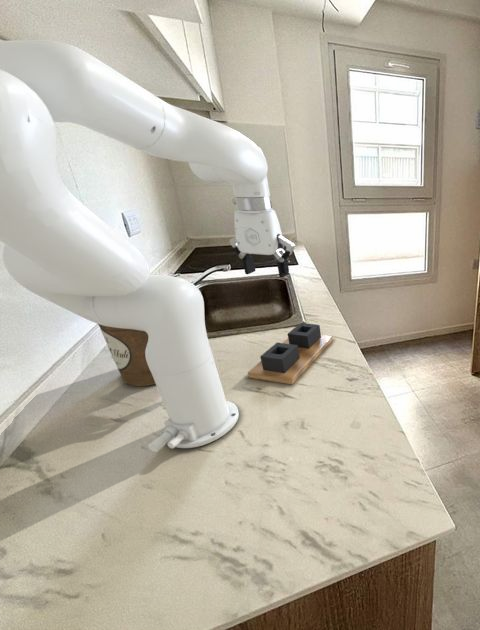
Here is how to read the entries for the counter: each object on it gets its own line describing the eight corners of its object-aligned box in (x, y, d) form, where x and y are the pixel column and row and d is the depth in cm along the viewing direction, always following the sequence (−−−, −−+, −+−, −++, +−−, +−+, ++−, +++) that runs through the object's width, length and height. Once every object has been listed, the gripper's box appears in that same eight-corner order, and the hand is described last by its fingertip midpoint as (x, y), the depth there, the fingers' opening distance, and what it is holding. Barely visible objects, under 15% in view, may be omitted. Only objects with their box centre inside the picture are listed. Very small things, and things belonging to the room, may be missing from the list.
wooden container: (124, 365, 86) (89, 285, 76) (191, 347, 94) (167, 273, 84) (121, 395, 75) (80, 306, 65) (198, 372, 83) (171, 291, 74)
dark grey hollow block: (309, 348, 92) (307, 336, 90) (289, 346, 93) (287, 333, 91) (321, 336, 98) (319, 324, 96) (302, 334, 99) (300, 322, 97)
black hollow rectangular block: (284, 373, 81) (282, 359, 79) (263, 369, 82) (260, 356, 80) (299, 358, 87) (297, 345, 86) (279, 355, 88) (277, 342, 87)
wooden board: (292, 384, 80) (289, 370, 78) (248, 377, 82) (245, 364, 80) (332, 340, 99) (331, 328, 97) (296, 335, 101) (294, 324, 99)
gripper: (210, 204, 75) (227, 276, 83) (277, 208, 72) (289, 282, 80) (233, 201, 82) (247, 267, 89) (296, 204, 79) (305, 272, 86)
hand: (267, 274), depth 85 cm, fingers open, 9 cm apart
